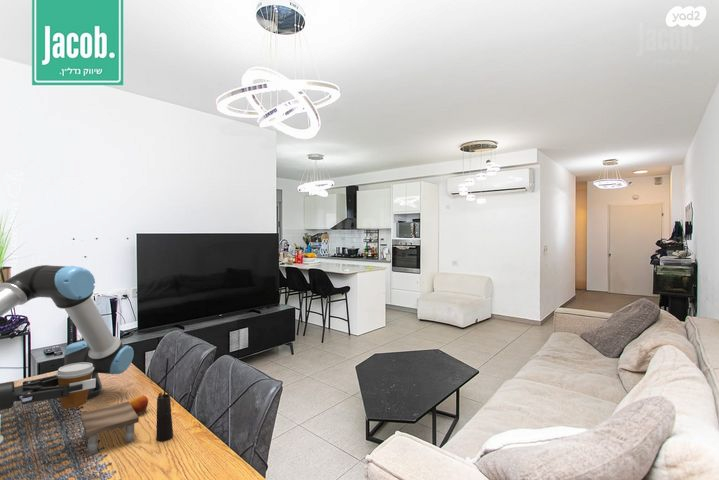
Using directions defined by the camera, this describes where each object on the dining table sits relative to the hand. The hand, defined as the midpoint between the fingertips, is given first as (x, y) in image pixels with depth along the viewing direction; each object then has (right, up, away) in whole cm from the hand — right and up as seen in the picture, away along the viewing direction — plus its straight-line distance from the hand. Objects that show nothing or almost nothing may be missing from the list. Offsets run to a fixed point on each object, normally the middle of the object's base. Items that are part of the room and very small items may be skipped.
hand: (93, 378), depth 115 cm
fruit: (0, -22, +21) cm, 31 cm away
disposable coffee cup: (-4, -7, -3) cm, 9 cm away
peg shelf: (+2, -22, +3) cm, 22 cm away
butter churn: (+20, -23, +6) cm, 31 cm away
